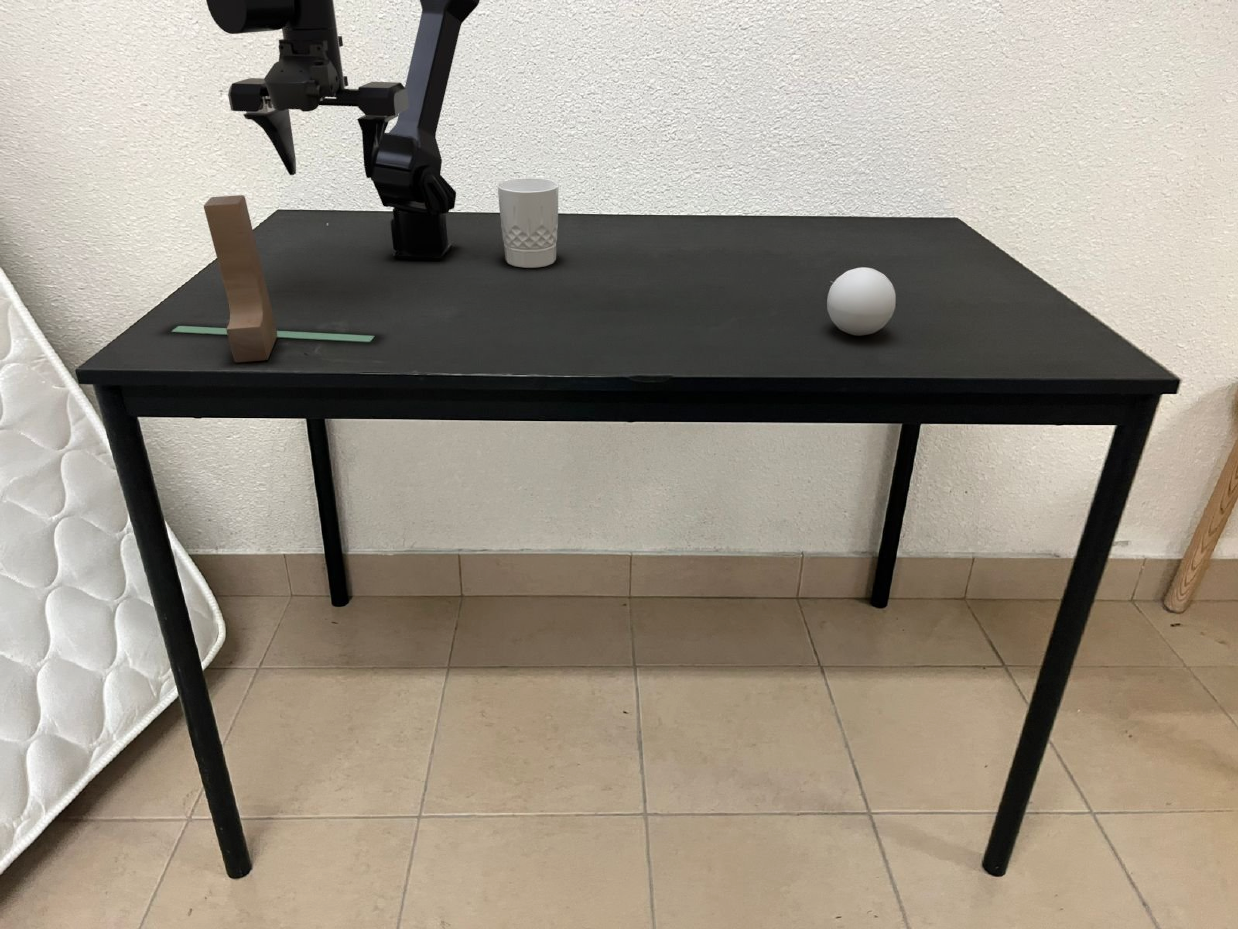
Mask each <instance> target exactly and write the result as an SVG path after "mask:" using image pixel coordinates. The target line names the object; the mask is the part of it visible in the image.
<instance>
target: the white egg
mask: <svg viewBox="0 0 1238 929" xmlns="http://www.w3.org/2000/svg"><path fill="white" fill-rule="evenodd" d="M829 282H830V283H832V284H831V286H830V287H829V290H828V294H827V296H826V298H825V299H826V306H827V307H826V309H827V313H828V315H829V318H830V320H831V321H832V323H833V324H834V325H835V326H836V327H837V328H838V329H839V330H840V331H842V332H844V333H846V334H849V335H851V336H858V337H861V336H867V335H872V334H874V333H876V332H878V331H880V330H881V329H883V328H884V327H885V326H886V325H887V324H888V323H889V321H890V319H891V318H893V315H894V312H895V309H896V307H897V302H896V300H897V299H896V298H897V297H896V290H895V288H894V285H893V283H892V282H891V280H890V279H889V278H888V277H887V276H886V275H885V274H884V273H882V272H880V271H878V270H876V269H875V268H872V267H863V266H862V267H856V268H853V269H849V270H846V271H845V272H844V273H842V274H841V275H839V276H838V277H837V278H836V279H835V280H834V281H832V280H829Z"/></svg>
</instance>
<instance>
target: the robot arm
mask: <svg viewBox="0 0 1238 929" xmlns="http://www.w3.org/2000/svg"><path fill="white" fill-rule="evenodd" d="M205 1H206V5H207V8H208V11H209V15H210V16H211V18H212V19H213V21H214V23H215V24H216V25H217V26H218V28H219V29H221V30H222V31H223V32H224V33H227V34H229V35H239V34H252V33H262V32H273V31H275V32H276V31H280V30H281V33H282V38H280V39H278V53H279V56H278V61H276V62H274V63H273V65H272V66H271V68H270V69H269V70H268V72H267V73H266V75H265V76H264V78H263V77H249V78H246V79H242V80H239V81H235V82H232V83H231V85H230V86H229V89H228V93H227V96H228V97H227V98H228V102H229V107H230V111H232V112H245V113H243V114H242V116H243V117H244V118H245V120H251V121H253V122H254V123H255V124H257V125H258V126H259V127H260V128H261V129H262V130H263V131H264V133H265V134H266V135H267V137H268V139H269V140H270V142H271V144H272V145H273V147H274V149H275V151H276V153H277V154H278V156H279V159H280V160H281V162H282V165H283V166H284V167H285V169H286V171H287V173H288V175H289V176H294V175H296V174H297V158H296V151H295V150H296V149H295V144H294V136H293V132H292V131H293V129H292V122H291V116H290V110H298V111H300V112H305V113H306V112H313V111H315V110H316V109H318V108H319V106H323V107H324V106H325V107H327V106H328V107H352V108H353V107H357V109H359V110H360V112H362V113H363V114H364V115H362V116H360V117H358V118H357V119H356V120H357V123H358V125H359V128H360V131H361V137H362V138H361V140H362V155H363V167H364V173H365V177H366V178H367V179H370V180H371V181H372V183H373V186H374V188H375V190H376V192H377V195H378V197H379V199H380V202H381V204H382V206H383V207H385V208H392V218H391V219H390V220H389V224H390V231H391V242H392V249H393V250H394V251H395V252H394V253H393V259H398V260H399V259H400V260H421V261H422V260H423V261H441V260H442V259H443V258H444V257H445V256H446V255H447V253H448V252H449V251H450V250H451V249H452V247H453V244H452V243H451V242H449V241H448V240H449V238H448V229H447V216H446V214H448V213H450V211H451V210H454V209H455V206H456V201H457V200H456V198H457V191H456V190H455V189H454V188H453V187H452V186H451V184H450V183H449V182H448V181H447V179H445V178H444V177H443V176H442V174H441V173H442V164H443V159H442V158H443V157H442V155H441V151H440V148H439V144H438V140H437V138H436V135H437V130H438V127H439V122H440V117H441V113H442V110H443V109H442V108H443V104H444V100H445V96H446V92H447V88H448V84H449V83H448V82H449V78H450V74H451V70H452V65H453V61H454V58H455V52H456V49H457V45H458V40H459V35H460V31H461V28H462V24H463V23H464V22H465V21H466V20H467V18H468V17H470V15H471V14H472V13H473V11H474V10H475V9H477V7H478V6H479V5H480V1H481V0H419V4H420V6H421V15H420V19H419V24H418V28H417V32H416V37H415V41H414V45H413V49H412V55H411V57H410V62H409V66H408V71H407V76H406V81H405V85H404V84H402V82H399V81H398V82H397V81H396V82H395V81H370V82H367V83H365V84H362V85H361V86H358V88H346V87H348V86H349V80H348V76H347V75H344V71H343V64H342V55H341V47H344V40H343V35H339V34H338V33H339V32H338V25H337V18H336V10H335V3H334V0H205ZM396 118H397V120H396V123H395V125H394V126H393V127H392V128H391V129H390V130H389V131H388V132H386V130H387V127H388V125H389V123H390V121H392V120H395V119H396Z"/></svg>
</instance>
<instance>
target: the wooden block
mask: <svg viewBox="0 0 1238 929" xmlns="http://www.w3.org/2000/svg"><path fill="white" fill-rule="evenodd" d="M203 210H204V213H205V217H206V221H207V225H208V229H209V233H210V237H211V240H212V244H213V248H214V252H215V256H216V260H217V262H218V267H219V272H220V274H221V278H222V282H223V286H224V290H225V293H226V298H227V302H228V308H229V323H228V325H227V326H226V328H227V329H226V331H227V335H226V336H227V338H228V342H229V347H230V350H231V354H232V357H233V361H234V363H250V362H259V361H260V362H261V361H267V360H269V358H270V356H271V353H272V350H273V348H274V345H275V343H276V340H277V335H278V334H277V331H278V330H277V326H276V321H275V317H274V312H273V310H272V305H271V301H270V297H269V291H268V289H267V284H266V279H265V276H264V271H263V267H262V263H261V259H260V255H259V250H258V246H257V242H256V238H255V233H254V229H253V224H252V221H251V217H250V212H249V208H248V205H247V199H246V196H245V195H243V194H239V195H223V196H211V197H210V198H209V199H208V200H207V201H206V202H205V203H204V204H203Z"/></svg>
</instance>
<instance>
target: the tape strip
mask: <svg viewBox="0 0 1238 929" xmlns="http://www.w3.org/2000/svg"><path fill="white" fill-rule="evenodd" d="M226 329H227V327H210V326H209V327H208V326H207V327H205V326H187V325H178V326H176V327H175V328H173V329H172V330H171V332H170V333H179V334H196V335H197V334H199V335H201V334H202V335H218V336H228V335H227V331H226ZM277 334H278V335H277V338H278V339H292V340H293V339H294V340H298V339H299V340H318V341H331V342H332V341H335V342H336V341H337V342H353V343H371V342H372V340H373V339H374V338H375V335H363V334H346V333H345V334H343V333H325V332H324V333H323V332H308V331H307V332H306V331H289V330H288V331H286V330H284V331H283V330H277ZM277 338H276V339H277Z"/></svg>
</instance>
